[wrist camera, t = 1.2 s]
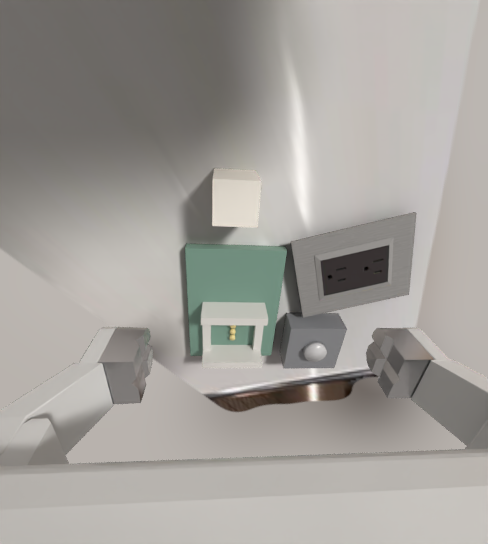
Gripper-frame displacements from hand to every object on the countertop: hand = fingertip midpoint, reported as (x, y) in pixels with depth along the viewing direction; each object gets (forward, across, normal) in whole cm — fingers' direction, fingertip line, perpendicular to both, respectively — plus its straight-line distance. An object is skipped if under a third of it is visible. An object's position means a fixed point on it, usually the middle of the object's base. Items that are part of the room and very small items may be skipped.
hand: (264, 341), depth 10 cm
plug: (+21, 0, -1) cm, 21 cm away
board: (+21, 0, +13) cm, 25 cm away
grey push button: (+21, -10, +18) cm, 30 cm away
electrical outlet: (+22, -14, +7) cm, 26 cm away
